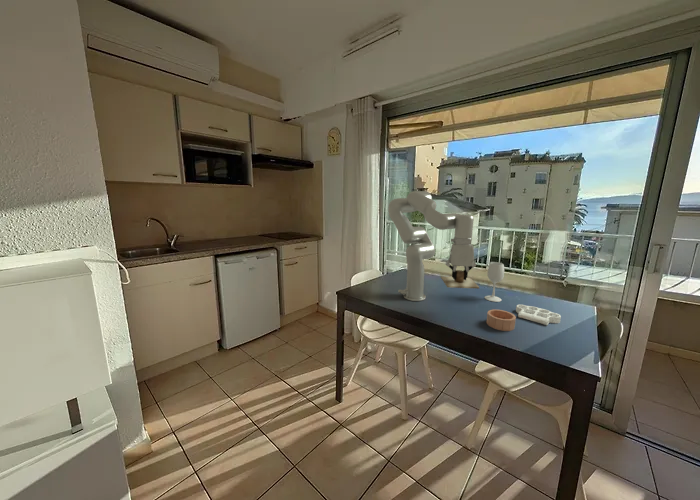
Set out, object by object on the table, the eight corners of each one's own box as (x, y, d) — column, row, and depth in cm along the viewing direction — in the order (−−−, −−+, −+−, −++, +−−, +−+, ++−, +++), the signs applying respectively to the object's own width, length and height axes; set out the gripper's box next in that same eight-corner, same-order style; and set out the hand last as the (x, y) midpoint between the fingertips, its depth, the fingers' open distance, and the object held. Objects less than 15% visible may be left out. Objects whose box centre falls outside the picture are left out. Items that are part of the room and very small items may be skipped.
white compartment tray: (510, 316, 130) (519, 308, 140) (555, 329, 117) (562, 319, 127) (511, 310, 130) (520, 302, 139) (556, 322, 117) (563, 312, 126)
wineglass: (495, 303, 145) (499, 266, 141) (481, 297, 153) (484, 262, 149) (505, 300, 149) (509, 264, 145) (490, 295, 157) (494, 260, 153)
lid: (447, 287, 122) (448, 275, 121) (440, 277, 135) (441, 266, 134) (479, 288, 120) (480, 276, 119) (469, 278, 134) (470, 267, 132)
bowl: (492, 330, 116) (493, 319, 115) (483, 318, 127) (484, 309, 126) (519, 331, 115) (520, 320, 114) (507, 319, 126) (508, 310, 125)
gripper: (445, 242, 121) (443, 280, 125) (484, 243, 119) (480, 282, 123) (442, 239, 128) (439, 276, 132) (478, 240, 126) (474, 277, 130)
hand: (459, 278), depth 127 cm, fingers closed on lid, 4 cm apart
